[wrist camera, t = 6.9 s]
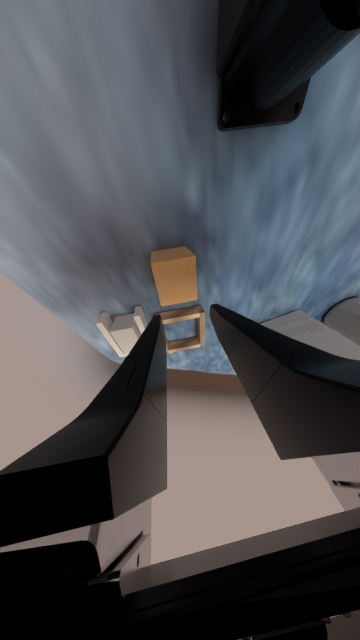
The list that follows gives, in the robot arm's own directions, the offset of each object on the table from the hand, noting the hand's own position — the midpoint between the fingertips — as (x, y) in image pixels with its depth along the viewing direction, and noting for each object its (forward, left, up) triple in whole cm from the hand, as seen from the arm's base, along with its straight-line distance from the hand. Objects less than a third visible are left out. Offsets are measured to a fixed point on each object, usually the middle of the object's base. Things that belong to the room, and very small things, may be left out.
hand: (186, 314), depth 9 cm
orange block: (0, 0, -10) cm, 10 cm away
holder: (0, +11, -10) cm, 15 cm away
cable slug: (+8, +8, -10) cm, 15 cm away
